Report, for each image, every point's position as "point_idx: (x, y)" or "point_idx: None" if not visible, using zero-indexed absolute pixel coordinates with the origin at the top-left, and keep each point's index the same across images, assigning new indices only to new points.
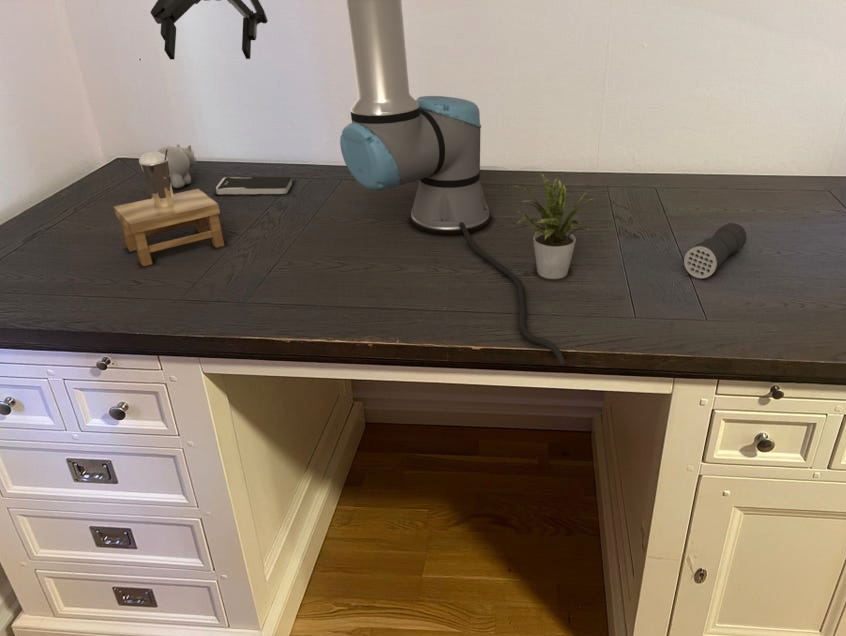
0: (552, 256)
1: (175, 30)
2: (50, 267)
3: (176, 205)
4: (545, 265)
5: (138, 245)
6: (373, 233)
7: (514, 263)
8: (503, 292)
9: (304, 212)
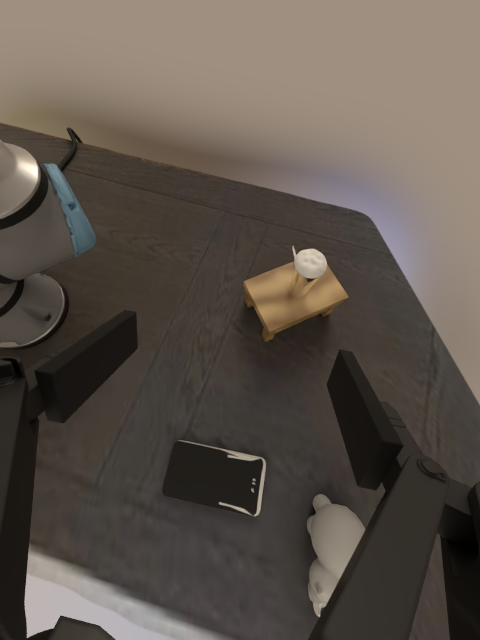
0: None
1: (354, 462)
2: (382, 291)
3: (284, 285)
4: None
5: None
6: (110, 299)
7: None
8: None
9: (164, 368)
